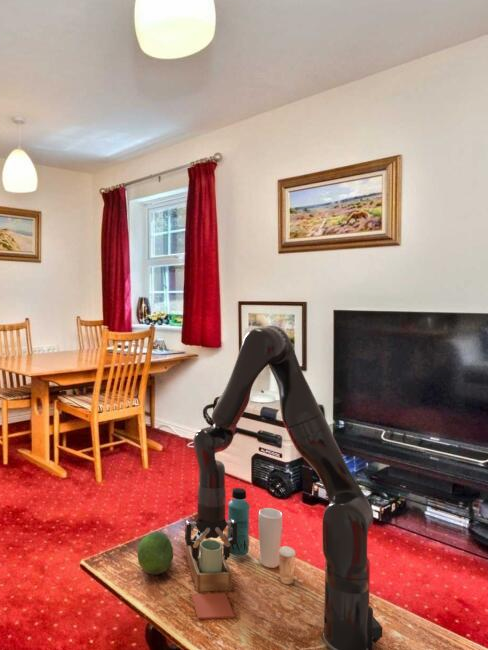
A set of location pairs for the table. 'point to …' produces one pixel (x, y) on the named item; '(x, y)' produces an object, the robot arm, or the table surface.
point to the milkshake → (287, 564)
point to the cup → (210, 556)
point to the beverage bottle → (239, 521)
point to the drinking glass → (270, 536)
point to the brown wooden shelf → (208, 574)
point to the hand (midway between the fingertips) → (210, 558)
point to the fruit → (155, 553)
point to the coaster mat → (212, 606)
